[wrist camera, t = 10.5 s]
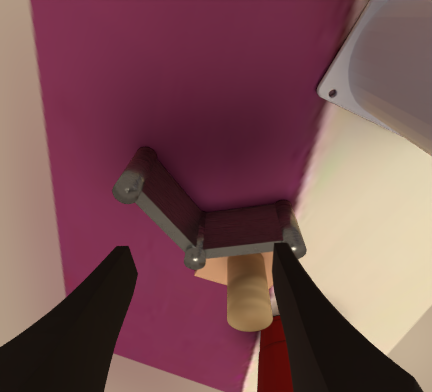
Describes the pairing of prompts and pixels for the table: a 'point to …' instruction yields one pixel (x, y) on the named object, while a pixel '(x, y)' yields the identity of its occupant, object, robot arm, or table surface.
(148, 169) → the bent rail
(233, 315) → the oak dowel
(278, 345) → the plastic cup
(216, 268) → the coaster
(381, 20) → the robot arm
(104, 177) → the table surface
